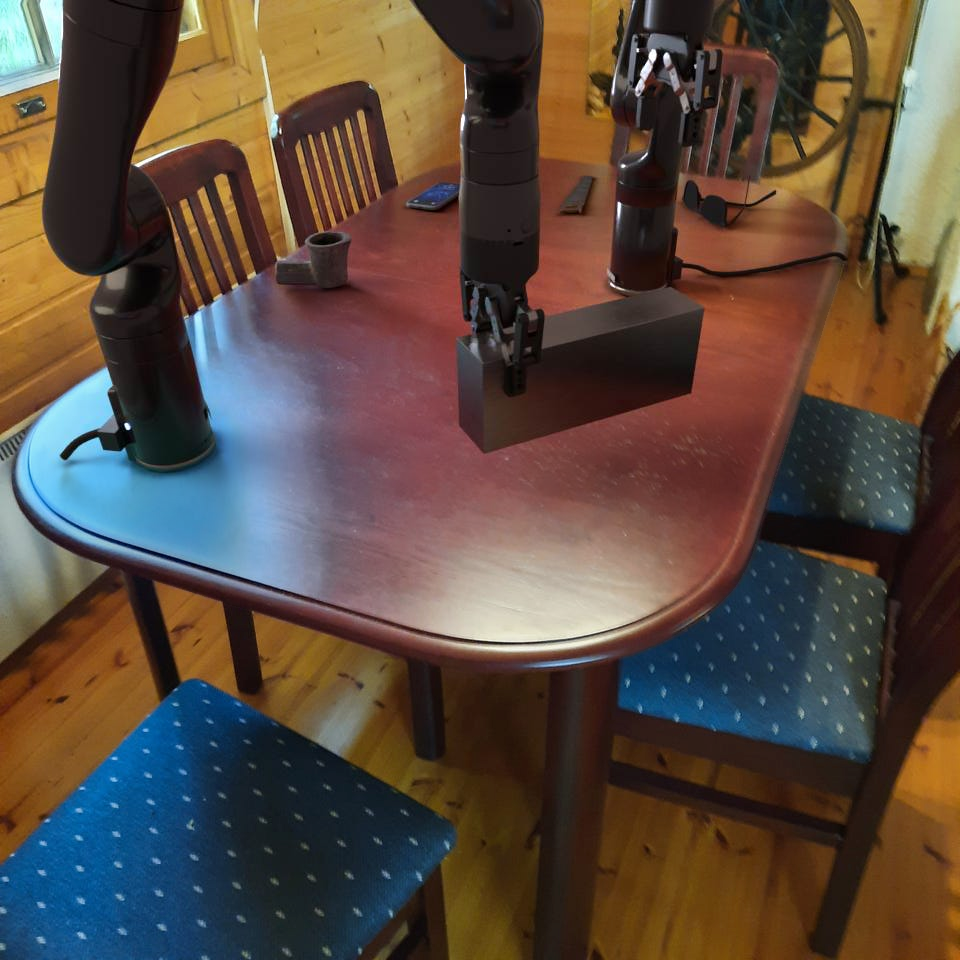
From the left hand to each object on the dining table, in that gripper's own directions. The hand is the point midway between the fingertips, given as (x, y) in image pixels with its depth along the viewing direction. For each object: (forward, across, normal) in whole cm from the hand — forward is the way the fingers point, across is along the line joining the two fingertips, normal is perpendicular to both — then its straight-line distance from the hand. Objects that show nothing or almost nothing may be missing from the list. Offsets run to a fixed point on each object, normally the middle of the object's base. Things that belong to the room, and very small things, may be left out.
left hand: (499, 379), depth 89 cm
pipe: (+13, -61, -2) cm, 63 cm away
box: (+7, 0, +10) cm, 12 cm away
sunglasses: (+13, -56, +79) cm, 98 cm away
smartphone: (+13, -91, +33) cm, 98 cm away
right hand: (-16, -17, +31) cm, 39 cm away
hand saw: (+13, -78, +59) cm, 99 cm away
